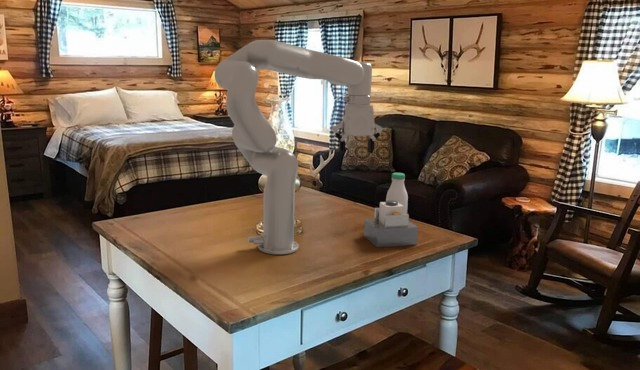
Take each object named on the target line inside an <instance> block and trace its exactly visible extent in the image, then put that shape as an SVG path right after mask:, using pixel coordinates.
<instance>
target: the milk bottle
mask: <svg viewBox="0 0 640 370" xmlns="http://www.w3.org/2000/svg"><path fill="white" fill-rule="evenodd" d="M405 178H406V175H405V173H403V172H393V173H391V184H390V187H389V189H388V190H387V194H386V198H385V202H386V201H388V200H393V201H397V202H398V203H400V204H401V205H403V206H404V213H403V214H408V204H409V203H408V201H409V200H408V199H409V196H408V192H407V191H408V190H407V189H406V186H405V180H406V179H405Z"/></svg>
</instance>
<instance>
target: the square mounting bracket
mask: <svg viewBox="0 0 640 370" xmlns="http://www.w3.org/2000/svg"><path fill="white" fill-rule="evenodd" d="M379 210H380V207H374V217H373V218H364V227H363V228H364V229H363V230H364V231H363V237H365V238H366V239H367V241H369V242H370V243H371V244H372V245H373V246H375V247H376V248H386V247H401V246H403V247H404V246H417V245H418V236H419V235H418V234H419V233H418V232H419V226H417V224H414V222H412V221H410V220H409V219H410V215H409V213H407V214H401V213H400V212H396V213H393V215H385V217H384V224H382V223H381V222H380V221H379Z"/></svg>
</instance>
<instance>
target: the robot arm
mask: <svg viewBox="0 0 640 370" xmlns="http://www.w3.org/2000/svg"><path fill="white" fill-rule="evenodd" d="M259 70H268V71H272V72H278V73H280V74H284V75H289V76H294V77H297V78H302V79H309V80H322V81H327V82H328V83H329V84H332V85H336V86H347V95H346V96H343V99H342V101H343V102H346V104H345V105H344V109H343V113H342V114H343V115H342V121H341V122H340V123H337V124H336V125H334V126H332V127H331V130H332V132H333V134H334V136H335V137H336V138H337V139H338V141H339V143H338V144H339V145H338V147H339V148H338V149H339V151H340V153H341V154H346V145H347V143H346V142H347V141H345V140H346V139H347V138H348V137H368V141H367V153H369V154H373V153H374V152H373V151H374V150H375V142H376V140H377V139H378V138H379V137H380V136H381V133H382V132H383V130H384V129H383V126H380V125H379V124H377V123H375V114H374V113H375V112H374V106H373V104H372V105H371V97H372V77H373V65H372V64H371V63H370V62H364V61H356V60H354V59H351V58H350V59H349V58H346V57H343V56H337V55H335V54H334V55H333V54H328V53H325V52H321V51H317V50H313V49H307V48H305V47H301V46H297V45H294V44H289V43H285V42H283V41H279V40H274V39H255V40H253V41H250V42H249V43H247V44H245V45H244V46H243V47H241V48H239V49H238V50H236V51H235V52H234V53H232V54H231V55H229V56H228V57H226V58H224V59H223V60H221V61H220V62H219V64H217V66H216V67H215V70H214V73H213V74H214V80H215V82H216V84H217V86H219V87H220V88H221V89H223V90H226V91H227V92H226V99H225V100H226V101H225V107H226V111H227V115H228V116H229V118H230V120H231V121H232V123H233V127H232V129H231V131H232V132H231V135H232V136H231V137H232V140H233V143H234V144H235V147H236V148H237V149H238V150H239V151H240V153H241V154H242V156H243V157H244V159H245V160H246V161H247V162H248V163H249V165H250V166H251V168H252V169H253V170H254V171H256V172H257V173H259V174H261V175H264V176H266V181H265V184H264V189H263V217H262V218H263V223H262V224H263V231H262V232H261V234H260V235H259V234H258V236H248V237H247V242H248V243H249V244H250V243H251V244H252V243H253V245H258V247H257V248H258V250H259V251H260V252H262V253H265V254H268V255H269V254H270V255H288V254H292V253H295V252H297V251H298V250H299V246H300V245H299V242H297V241H295V239H294V238H295V205H296V204H295V202H296V201H295V200H296V199H295V197H296V195H295V193H296V192H295V190H296V181H297V177H298V172H299V162H298V161H299V160H298V158H297V157H296V155H295V154H294V153H293V152H292V151H290V150H289V149H287V148H282V147H280V146H276V145H277V141H278V140H277V134H276V132H275V129H274V128H273V127H272V125H271V124H270V122H269V121H268V120H267V118H266V116H265V115H264V114H263V112H262V110H261V109H260V107H259V105H258V103H257V101H256V91H257V87H258V85H259V80H260V79H259V78H260V76H259V72H258V71H259ZM339 129H341V132H342V133H341V134H340V132H339ZM375 129H376V132H375Z"/></svg>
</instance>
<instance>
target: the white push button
mask: <svg viewBox="0 0 640 370" xmlns="http://www.w3.org/2000/svg"><path fill="white" fill-rule="evenodd" d="M379 208H380V210H379V221H380V222H381V223H382V224H384V217H385V215H393V213H396V212H400V213H401V214H403V213H404V206H403V205H401V204H400V203H398V202H397V201H393V200H388V201H386V200H385V201H380V202H379Z"/></svg>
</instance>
